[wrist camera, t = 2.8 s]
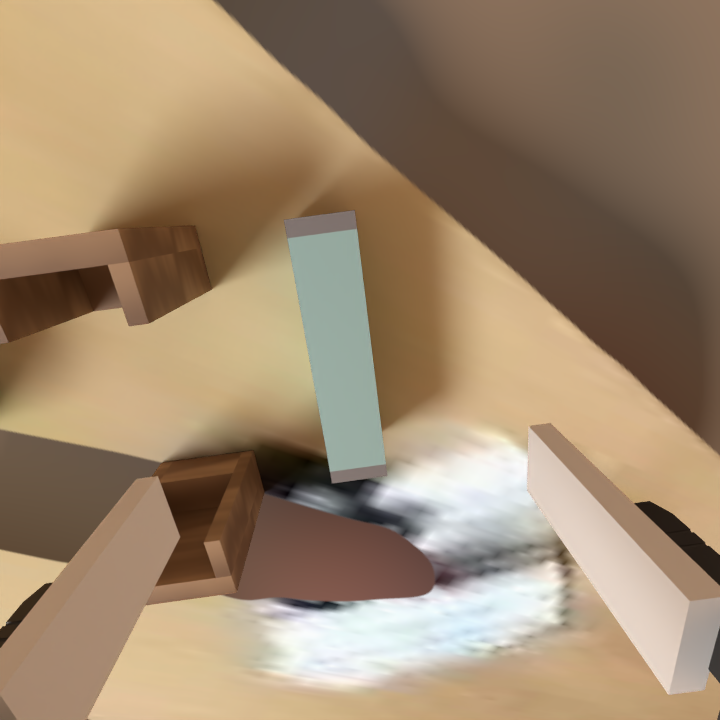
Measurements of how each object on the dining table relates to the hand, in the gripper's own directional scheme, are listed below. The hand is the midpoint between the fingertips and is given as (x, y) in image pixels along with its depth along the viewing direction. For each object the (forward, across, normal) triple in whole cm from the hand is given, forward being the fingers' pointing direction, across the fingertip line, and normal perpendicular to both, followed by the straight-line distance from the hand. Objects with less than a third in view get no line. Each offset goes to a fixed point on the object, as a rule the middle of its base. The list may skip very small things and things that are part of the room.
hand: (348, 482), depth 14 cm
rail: (+18, 0, 0) cm, 18 cm away
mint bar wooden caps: (+18, -13, -2) cm, 22 cm away
